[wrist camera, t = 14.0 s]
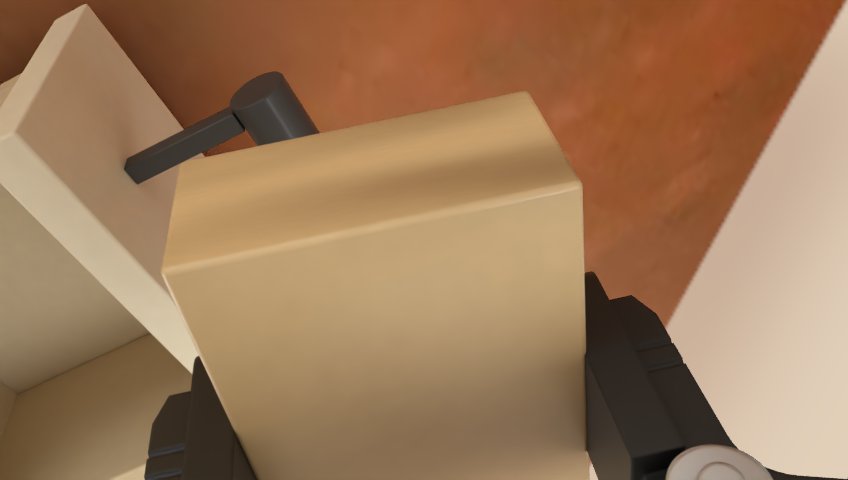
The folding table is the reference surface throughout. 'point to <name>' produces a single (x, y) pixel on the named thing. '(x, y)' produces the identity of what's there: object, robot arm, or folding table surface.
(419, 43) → the folding table surface
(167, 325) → the drawer
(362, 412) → the tan rectangular block
